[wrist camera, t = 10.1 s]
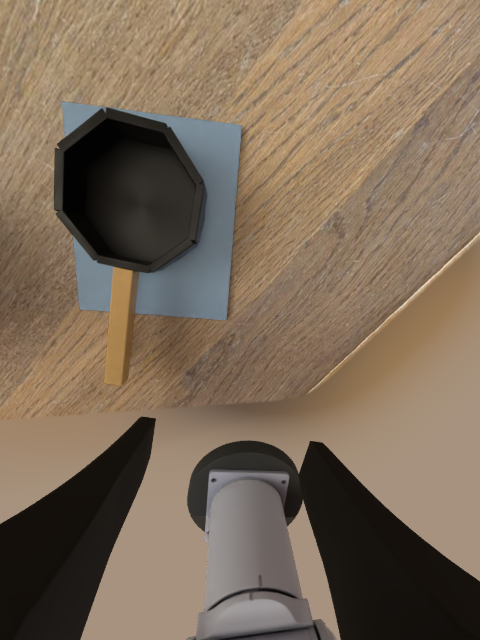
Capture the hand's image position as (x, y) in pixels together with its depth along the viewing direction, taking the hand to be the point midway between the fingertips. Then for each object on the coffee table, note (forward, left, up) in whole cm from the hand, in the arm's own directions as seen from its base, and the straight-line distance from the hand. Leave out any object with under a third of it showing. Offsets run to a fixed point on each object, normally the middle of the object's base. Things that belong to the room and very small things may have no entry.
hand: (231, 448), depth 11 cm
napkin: (+10, +6, -9) cm, 15 cm away
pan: (+7, +7, -9) cm, 13 cm away
